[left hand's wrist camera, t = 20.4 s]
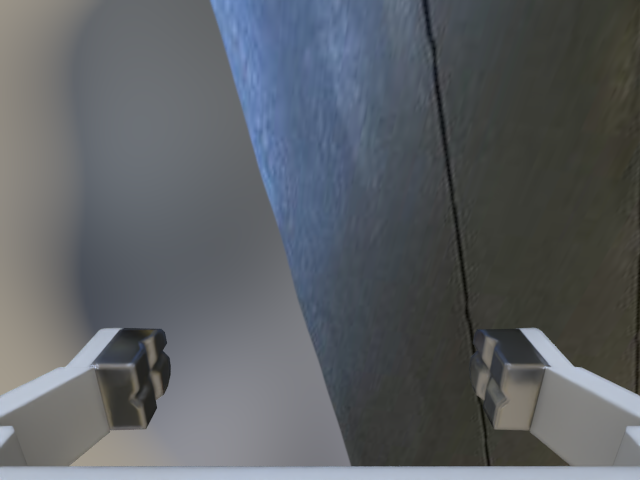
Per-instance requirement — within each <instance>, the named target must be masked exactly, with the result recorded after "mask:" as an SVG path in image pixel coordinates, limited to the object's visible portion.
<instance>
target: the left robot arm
mask: <svg viewBox="0 0 640 480" xmlns="http://www.w3.org/2000/svg"><path fill="white" fill-rule="evenodd" d="M166 344H167V341H166V336H165V332H164V331H163V330H162V329H139V328H124V329H123V328H104V329H101V330H99V331H98V332H97V334H96V335H95V336H94V337H93V338H92V339H91V340H90V341H89V342H88V343H87V344H86V345H85V347H84V348H83V349H82V350H81V351H80V352H79V353H78V354H77V355H76V356H75V357H74V359H73V360H72V361H71V362H70V363H69V364H68V365H67V366H66V367H59V368H57V369H55V370H53V371H50V372H48V373H46V374H44V375H42V376H40V377H38V378H36V379H34V380H32V381H30V382H28V383H26V384H24V385H22V386H19V387H17V388H15V389H13V390H11V391H9V392H7V393H5V394H3V395H1V396H0V480H640V396H639V395H637V394H635V393H633V392H631V391H629V390H627V389H625V388H622V387H620V386H618V385H616V384H614V383H612V382H610V381H608V380H606V379H604V378H602V377H600V376H598V375H596V374H594V373H592V372H590V371H587V370H585V369H583V368H581V367H574V366H573V365H572V364H571V363H570V362H569V361H568V360H567V359H566V357H565V356H564V355H563V354H562V353H561V352H560V351H559V350H558V349H557V348H556V347H555V345H554V344H553V343H552V342H551V341H550V340H549V339H548V338H547V337H546V336H545V335H544V333H543V332H542V331H541V330H539V329H537V328H516V329H480V330H477V331H476V333H475V335H474V340H473V344H474V346H475V347H476V349H477V352H476V353H475V354H474V355H473V356H472V357H471V359H470V367H469V371H470V380H471V383H472V387H473V389H474V391H475V393H476V395H478V396H479V397H480V398H482V399H483V400H484V405H483V409H484V411H485V413H486V415H487V417H488V418H489V420H490V422H491V424H492V426H493V428H494V429H505V430H530V432H531V433H532V434H533V435H534V436H535V437H537V438H538V439H539V440H540V441H542V442H543V443H544V444H545V445H546V446H548V447H549V448H550V449H551V450H552V451H554V452H555V453H556V454H557V455H559V456H560V457H561V458H562V459H563V460H565V461H566V462H567V463H568V464H569V465H571V466H376V467H319V466H317V467H316V466H314V467H313V466H91V467H90V466H84V467H83V466H82V467H81V466H69V465H71V464H72V463H73V462H74V461H76V460H77V459H78V458H79V457H80V456H82V455H83V454H84V453H85V452H86V451H88V450H89V449H90V448H91V447H93V446H94V445H95V444H96V443H97V442H99V441H100V440H101V439H102V438H103V437H105V436H106V435H107V434H108V433H110V430H134V429H146V428H147V426H148V424H149V422H150V420H151V418H152V417H153V415H154V413H155V411H156V409H157V405H156V400H157V399H158V398H160V397H161V396H162V395H164V393H165V391H166V389H167V387H168V383H169V379H170V370H171V365H170V358H169V357H168V356H167V355H166V354H165V353H164V352H163V349H164V347H165V346H166Z"/></svg>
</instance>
